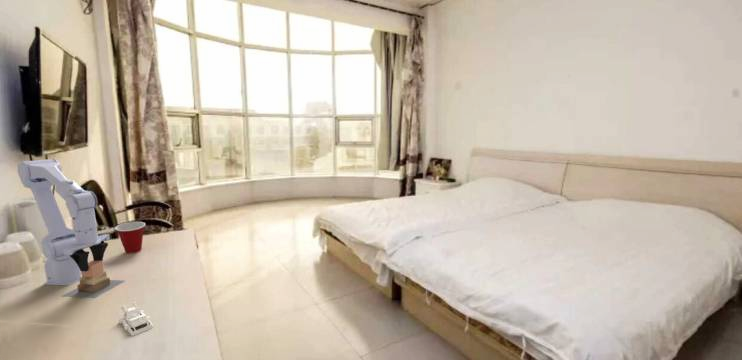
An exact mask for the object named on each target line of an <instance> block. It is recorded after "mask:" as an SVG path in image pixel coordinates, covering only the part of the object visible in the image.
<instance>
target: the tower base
mask: <svg viewBox="0 0 742 360" xmlns="http://www.w3.org/2000/svg"><path fill="white" fill-rule="evenodd" d="M110 280H111V279H110V277H107V278H106V279H104V280H102V281H100V282H99V283H97V284H95V285H84V284H80V283H78V284H77V286H76V288H78V292H89V293H95V292H97V291H99V290H101V289H103V288H105V287H106V286H108V285H110Z"/></svg>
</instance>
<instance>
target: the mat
mask: <svg viewBox="0 0 742 360" xmlns="http://www.w3.org/2000/svg"><path fill="white" fill-rule="evenodd" d="M124 282H125V280H120V279H119V280H118V279H116V280H115V279H110V285H108V286H106V287H105V288H103V289H101V290H99V291H97V292H95V293H89V292H78V287H76V288H74V289H72V290H71V291H68V292H67V293H65V294H63V295H61V297H68V298H69V297H70V298H71V297H72V298H85V299H86V298H87V299H88V298H90V299H96V298H98V297H99V296H101V295H103V294H105V293H106V292H108V291H110V290H113V288H116V287H117V286H119V285H120V284H123V283H124Z"/></svg>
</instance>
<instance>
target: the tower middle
mask: <svg viewBox="0 0 742 360" xmlns="http://www.w3.org/2000/svg"><path fill="white" fill-rule="evenodd" d="M103 271H104V270H103ZM107 276H108V275H107V271H106V270H105V271H104V272H103V273H101V274H99V275H97V276H95V277H82V276H81V277H79V280H78V282H79V284H84V285H95V284H97V283H99V282H100V281H102V280H104V279H106V278H107Z"/></svg>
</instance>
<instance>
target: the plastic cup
mask: <svg viewBox="0 0 742 360" xmlns="http://www.w3.org/2000/svg"><path fill="white" fill-rule="evenodd" d="M145 226H146V222H143V221H131V222H129V221H128V222H124V223H121V224H118V225H116V226H115V228H114V230H116V231H117V234H118V236H119V239H120V241H121V245H122V246H123V250H124V252H125V253H126V254H136V253H138V252H140V250H141V251H142V247H143V238H144V230H145Z"/></svg>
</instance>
